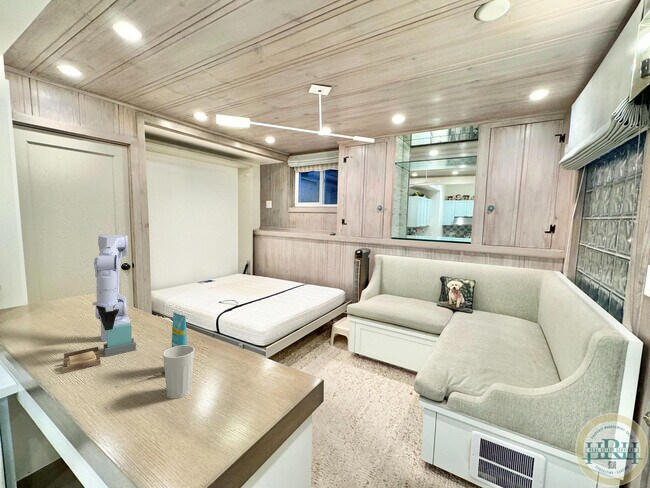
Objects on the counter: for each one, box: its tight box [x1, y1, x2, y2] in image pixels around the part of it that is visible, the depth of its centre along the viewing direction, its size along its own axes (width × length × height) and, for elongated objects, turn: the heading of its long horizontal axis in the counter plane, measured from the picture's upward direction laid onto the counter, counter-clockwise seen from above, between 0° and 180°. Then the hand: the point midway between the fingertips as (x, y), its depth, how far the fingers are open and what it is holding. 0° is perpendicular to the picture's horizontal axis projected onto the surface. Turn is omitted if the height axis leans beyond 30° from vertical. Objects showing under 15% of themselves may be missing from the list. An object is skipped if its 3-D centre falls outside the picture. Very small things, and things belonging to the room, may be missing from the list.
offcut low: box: [67, 355, 96, 367], centre depth 91 cm, size 7×4×2 cm, turn 132°
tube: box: [171, 311, 188, 348], centre depth 90 cm, size 7×5×19 cm, turn 61°
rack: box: [62, 346, 101, 375], centre depth 93 cm, size 9×13×3 cm
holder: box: [103, 337, 137, 358], centre depth 102 cm, size 9×7×4 cm
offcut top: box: [69, 351, 95, 365], centre depth 91 cm, size 6×3×2 cm, turn 140°
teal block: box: [106, 322, 133, 348], centre depth 102 cm, size 7×3×9 cm, turn 132°
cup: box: [162, 344, 196, 400], centre depth 80 cm, size 8×8×12 cm
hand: (107, 326), depth 99 cm, fingers open, 7 cm apart
